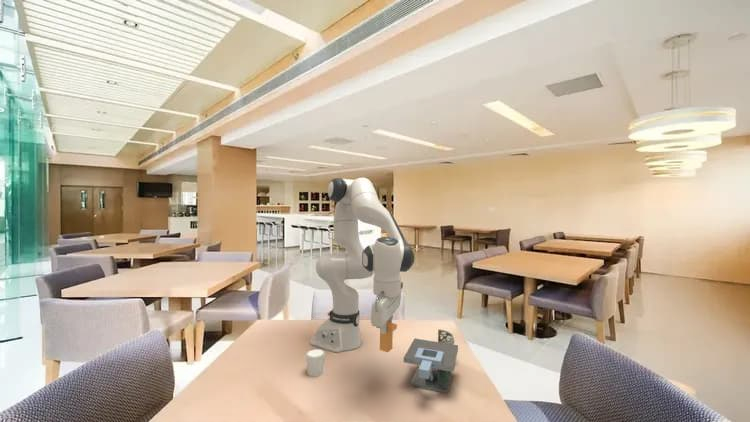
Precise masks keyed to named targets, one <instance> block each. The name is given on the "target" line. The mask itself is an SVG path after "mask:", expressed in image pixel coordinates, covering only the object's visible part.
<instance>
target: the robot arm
mask: <svg viewBox="0 0 750 422" xmlns="http://www.w3.org/2000/svg"><path fill="white" fill-rule="evenodd" d="M377 193H378V192H377V187H376V186H375V185H374V184H373V182H371V180H370V179H368V178H366V177H358V178H356V179H351V178H350V179H348V178H342V177H336V178H335V177H334V178H333V179H331V180H330V182H329V184H328V186H327V197H328V198H329V200H330V201H332V202H334V203H336V204H335V207H334V208H335V209H334V212H333V213H334V214H333V241H334V242H335V244H336V245H339V246H340V247H343V248H344V249H346V251H347V252H346V253H329V254H324V255H322V256H320V257H319V258H318V259H317V261H316V264H315V271H316V273H317V276H318V277H319V278H320V279H322V280H323V281H324V282H325V283H326V284H327V286H328V287H329V289H330V292H331V296H332V309H331V310H330V311H329V312H328V313H327V317H329V318H328V319H327V320H325V321H323V323H321V324H320V325H319V326H318V327H317V329H316V332H315V335H313V336H312V337H311V339H310V342H309V344H310V345H311V346H314V347H317V348H319V349H322V350H327V351H330V352H332V353H340V352H344V351H351V350H352V351H353V350H355V349H358V348H359V347H361V345H362V344H363V342H362V341H363V340H362V338H361V332H360V319H361V318H360V310H359V305H360V303H359V302H360V301H359V297H360V295H359V292H358V291H357V290H356V289H355V288H354V287H352V286H350V285H348V284H346V283H345V281H346V280H363V279H368V278H371V277H372V276H373V285H372V286H373V287H372V288H373V289H372V290H373V291H372V292H373V294H374V295H375V296H376V298H375V299H373V301H372V303H371V310H370V311H371V312H370V313H371V314H370V324H371V326H372V327H380V328H381V333H382V334H386V332H387V327H386V323H387V322H390V323H393V317H394V314H395V313H396V311H397V310H398V309H399V308H400V306H401V300H402V289H403V287H404V282H403V281H402V279H401V275H400V274H401V273H400V272H402V273H403V272H404V273H406V272H407V271H409V270H410V269H411V268H412V267H413V265H414V263H415V253H414V251H413V249H412V247H411V245H410V244H409V243H408V242H407V240H406V238H405V236H404V235H403V233H402V230H401V229H400V227H399V224H398V222H397V220H396V219H395V217H394V216H393V213H392V212H391V211H390V210H388V209H387V208H386V207H384V205H383V204H382V203H381V202H380V199H379V197H378V194H377ZM359 221H360V222H362V223H364V224H369V225H372V226H374V227H377V228H380V229H382V230H383V231H385V233H386V234H387V236H381V237H378V238H377V239H376V240H375V243H373V244H371V245H370V244H369V245H367V246H366V247H365V248H364V247H363V246H362V243H361V240H360V235H359ZM380 328H379V329H380Z"/></svg>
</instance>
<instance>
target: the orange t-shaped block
mask: <svg viewBox="0 0 750 422" xmlns="http://www.w3.org/2000/svg"><path fill="white" fill-rule="evenodd" d="M397 325H398V324H397V323H393V322H392V323H390V322H387V323H386V327H387V332H386V334H382V333H381V328H380V327H376V326H375V327H376V328H377V329H379V351H382V352H385V353H389V352H390V351H391V350H392V349H393V337H394V336H393V335H394V333H393V332H394V331H395V330H397V328H398V326H397Z"/></svg>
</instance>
